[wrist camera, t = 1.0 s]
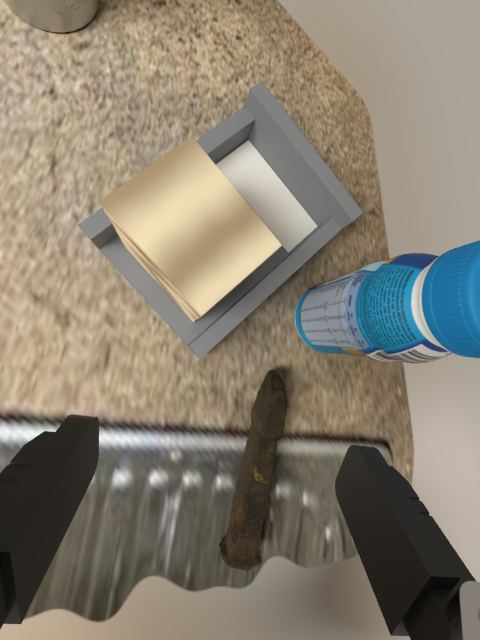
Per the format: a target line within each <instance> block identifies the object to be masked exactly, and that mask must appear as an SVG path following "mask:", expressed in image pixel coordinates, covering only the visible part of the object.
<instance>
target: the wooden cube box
mask: <svg viewBox="0 0 480 640" xmlns="http://www.w3.org/2000/svg"><path fill="white" fill-rule="evenodd" d="M100 203H101V205H102V207H103V210H104V212H105V214H106V215H107V216H108V217H109V219H110V221H111V223H112V224H113V226H114V228H115V230H116V231H117V233H118V235H119V237H120V239H121V240H122V242H123V244H124V246H125V248H126V249H127V250H128V251H129V252H130V253H131V254H132V255H133V256H134V257H135V259H136V260H137V261H138V262H139V263H140V264H141V265H142V266H143V267H144V269H145V270H146V271H147V272H148V273H149V274H150V275H151V276H152V277H153V279H154V280H155V281H156V282H157V283H158V284H159V285H160V286H161V287H162V288H163V290H164V291H165V292H166V293H167V294H168V295H169V296H170V297H171V298H172V300H173V301H174V302H175V303H176V304H177V305H178V306H179V307H180V308H181V309H182V311H183V312H184V313H185V314H186V315H187V316H188V317H189V318H190V319H191V321H192V322H194V321H196V320H197V319H198V318H201V317H202V316H203V315H204V314H205V313H207V312H208V311H209V310H210V309H211V308H212V307H213V306H215V305H216V304H217V303H218V302H219V301H220V300H221V299H222V298H224V297H225V296H226V295H227V294H228V293H229V292H230V291H232V290H233V289H234V288H235V287H236V286H237V285H238V284H239V283H241V282H242V281H243V280H244V279H245V278H246V277H247V276H249V275H250V274H251V273H252V272H253V271H254V270H255V269H256V268H258V267H259V266H260V265H261V264H262V263H263V262H264V261H266V260H267V259H268V258H269V257H270V256H271V255H272V254H273V253H275V252H276V251H277V250H278V248H279V247H281V246H282V245H281V243H280V242H279V241H278V240H277V239H276V237H275V236H274V235H273V234H272V232H271V231H270V230H269V229H268V228H267V226H266V225H265V224H264V223H263V222H262V220H261V219H260V218H259V217H258V215H257V214H256V213H255V212H254V211H253V209H252V208H251V207H250V206H249V205H248V203H247V202H246V201H245V200H244V199H243V197H242V196H241V195H240V194H239V192H238V191H237V190H236V189H235V188H234V186H233V185H232V184H231V183H230V182H229V180H228V179H227V178H226V177H225V176H224V174H223V173H222V172H221V171H220V169H219V168H218V167H217V166H216V165H215V163H214V162H213V161H212V160H211V159H210V157H209V156H208V155H207V154H206V153H205V151H204V150H203V149H202V148H201V146H200V145H199V144H198V143H197V142H196V140H195V139H194V138H193V137H192V136H191V137H190V138H189V139H187V140H186V141H184V142H183V143H181V144H180V145H179V146H177V147H176V148H174V149H173V150H172V151H170V152H169V153H167V154H166V155H164V156H163V157H162V158H160V159H159V160H157V161H156V162H154V163H153V164H152V165H150V166H149V167H147V168H146V169H145V170H143V171H142V172H140V173H139V174H137V175H136V176H135V177H133V178H132V179H130V180H129V181H128V182H126V183H125V184H123V185H122V186H120V187H119V188H118V189H116V190H115V191H113V192H112V193H111V194H109V195H108V196H106V197H105V198H103V199H102V200H101V201H100Z"/></svg>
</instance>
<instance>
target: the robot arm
mask: <svg viewBox="0 0 480 640" xmlns="http://www.w3.org/2000/svg"><path fill="white" fill-rule="evenodd" d="M5 2H6V4H7V5H8V6H9V7H10V9H11V10H12V11H13V12H14V13H15V14H16V15H17V16H19V17H20V18H21V19H22V20H24V21H25V22H27V23H29V24H30V25H32V26H35V27H37V28H40V29H42V30H46V31H51V32H70V31H75V30H77V29H80V28H82V27H84V26H85V25H86V24H88V23H89V22H90V21H91V20H92V18H93V17H94V16H95V14H96V11H97V9H98V3H99V0H5ZM98 456H99V419H98V418H97V417H91V416H81V415H72V414H71V415H69V416H68V417H67V418H66V419H65V420H64V422H63V423H62V424H61V426H60V427H59V428H58V430H57V431H56V432H48V431H44V432H43V433H41V434H40V435H38V436H37V437H35V438H34V439H32V440H31V441H30V442H28V443H27V444H25V445H24V446H23V447H22V449H21V450H20V451H19V452H18V453H17V454H16V456H15V457H14V458H13V459H12V460H11V462H10V464H9V466H8V465H7V466H6V467H5V469H4V470H3V471H2V472H1V473H0V629H1V627H2V625H3V624H21V623H22V621H23V619H24V617H25V615H26V613H27V611H28V609H29V607H30V605H31V603H32V601H33V599H34V597H35V595H36V593H37V591H38V589H39V587H40V584H41V582H42V580H43V578H44V576H45V574H46V572H47V570H48V568H49V566H50V564H51V562H52V560H53V558H54V556H55V554H56V552H57V550H58V548H59V546H60V544H61V542H62V540H63V537H64V535H65V533H66V531H67V529H68V527H69V525H70V523H71V521H72V519H73V517H74V515H75V513H76V511H77V509H78V507H79V505H80V503H81V501H82V499H83V497H84V495H85V493H86V490H87V488H88V486H89V484H90V482H91V480H92V478H93V476H94V473H95V470H96V467H97V463H98ZM335 490H336V496H337V500H338V502H339V505H340V507H341V510H342V513H343V515H344V518H345V520H346V523H347V525H348V528H349V530H350V533H351V535H352V538H353V541H354V543H355V546H356V548H357V551H358V553H359V556H360V558H361V561H362V563H363V566H364V568H365V571H366V573H367V576H368V579H369V581H370V584H371V586H372V589H373V591H374V594H375V596H376V599H377V601H378V604H379V607H380V609H381V612H382V614H383V617H384V619H385V622H386V624H387V627H388V629H389V632H390V634H391V635H392V636H393V635H394V636H409V637H410V639H411V640H480V583H479V582H476V580H475V579H474V577H473V576H472V575H471V573H470V572H469V570H468V569H467V568H466V566H465V564H464V563H463V562H462V560H461V559H460V557H459V556H458V554H457V553H456V551H455V550H454V548H453V547H452V545H451V544H450V542H449V541H448V539H447V538H446V537H445V535H444V534H443V532H442V531H441V529H440V528H439V526H438V525H437V523H436V522H435V521H434V519H433V517H432V516H430V515H429V512H428V510H427V509H426V507H425V506H424V504H423V503H422V502H421V501H419V497H418V495H417V494H416V492H415V491H414V490H413V488H412V487H411V485H410V484H409V482H408V481H407V480H406V479H405V478H404V477H403V476H402V475H401V474H400V473H399V472H398V471H397V470H396V469H394V468H393V467H392V466H389V465H388V464H387V462H386V461H385V459H384V458H383V456H382V455H381V453H380V452H379V450H378V449H376V448H374V447H367V446H357V445H351V446H350V447H349V448H348V451H347V453H346V455H345V458H344V460H343V463H342V465H341V468H340V470H339V473H338V475H337V478H336V483H335Z"/></svg>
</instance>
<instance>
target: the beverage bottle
mask: <svg viewBox="0 0 480 640" xmlns="http://www.w3.org/2000/svg"><path fill="white" fill-rule="evenodd" d="M295 326H296V329H297V332H298V334H299V336H300V338H301V339H302V340H303V342H304V343H305V344H306V345H307V346H309V347H310V348H312V349H313V350H316V351H318V352H322V353H341V354H350V355H358V356H366V357H368V358H371V359H374V360H377V361H384V362H396V361H403V362H407V363H425V362H430V361H434V360H437V359H440V358H443V357H445V356H447V355H449V354H451V353H454V354H457V355H460V356H465V357H474V358H480V241H477V242H474V243H470V244H467V245H464V246H462V247H458V248H455V249H452V250H450V251H448V252H446V253H444V254H442V255H441V256H435V255H430V254H417V253H412V254H403V255H399V256H396V257H393V258H391V259H389V260H388V261H380V262H376V263H372V264H369V265H367V266H365V267H363V268H361V269H359V270H358V271H355V272H353V273H350V274H347V275H344V276H342V277H339V278H336V279H334V280H331V281H328V282H325V283H322V284H319V285H316V286H313V287H311V288H310V289H308V290H307V291H306V292H305V293H304V294H303V295H302V296H301V298H300V299H299V301H298V303H297V306H296V309H295Z"/></svg>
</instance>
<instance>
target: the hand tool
mask: <svg viewBox="0 0 480 640" xmlns="http://www.w3.org/2000/svg"><path fill="white" fill-rule="evenodd" d="M286 408H287V395H286V391H285V386H284V384H283V382H282V380H281V378H280V376H279V374H278V373H277V372H276V371H274V370H270V371H269V372H268V374H267V375H266V377H265V379H264V381H263V383H262V385H261V387H260V390H259V391H258V394H257V398H256V401H255V403H254V406H253V409H252V411H251V427H250V432H249V436H248V440H247V444H246V448H245V453H244V456H243V460H242V465H241V472H240V476H239V481H238V484H237V487H236V492H235V496H234V500H233V507H232V512H231V518H230V524H229V528H228V532H227V536H226V538H224V539H223V540H222V541H221V542H220V544H219V547H220V552H221V556H222V559H223V560H224V562H225V563H226V564H227V565H228V566H230V567H232V568H236V569H242V570H245V571H249V570H251V569H252V568H254V567H256V566H258V565H260V564H261V562H262V560H261V555H260V549H259V546H260V544H259V543H260V538H261V532H262V526H263V520H264V517H265V515H266V513H267V508H268V507H269V506H270V497H269V488H270V482H271V477H272V471H273V466H274V460H275V454H276V447H277V442H278V438H279V437H281V436H282V434H283V429H284V424H285V423H284V420H285V416H286Z"/></svg>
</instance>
